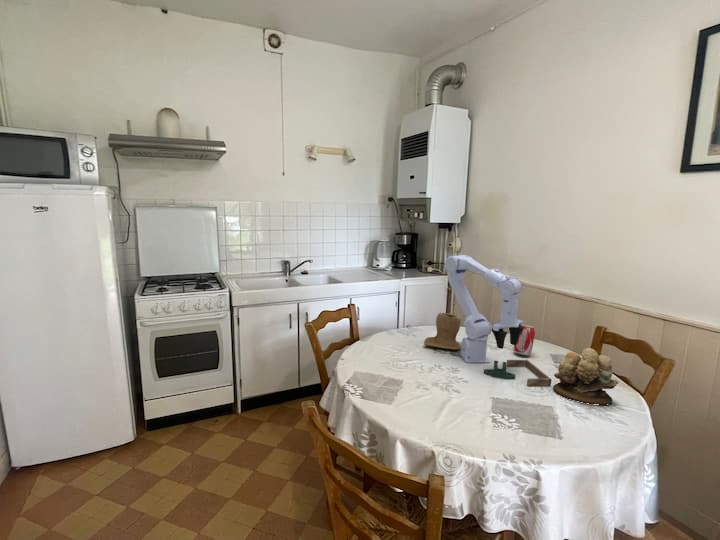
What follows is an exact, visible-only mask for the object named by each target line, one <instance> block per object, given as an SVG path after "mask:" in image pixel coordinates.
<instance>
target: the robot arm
mask: <svg viewBox="0 0 720 540" xmlns="http://www.w3.org/2000/svg"><path fill="white" fill-rule="evenodd" d="M443 267H444V268H445V271H446V275H447V281H448V282H449V285H450V287H451V289H452V291H453V294H454V296H455V298H456V300H457V302H458V304H459V306H460V308H461V311H462V312H463V315H464V316H465V317H464V318H465V319H464V322H463V325H464V329H465V334H466V336H467V337H463V338H462V340H461V346H460V350H461V351H460V356H461V358H462V359H463V360H464V361H465V362H466V363H490V360H489V359H488V358H487V348H488V338H489V336H490V335H491V334H493V336H494V339H495V343H496V347H497V348H498V349H500V350H503V349H504V347H505V346H504V345H505V340H506V337H507V335H508V332H507V331H504V330H505V329H508V330H509V342H510V345H512V346H514V345H516V344H517V342H518V339H519V336H520V334H521V333H522V331H523V330H524V327H521V326H523V325H524V320H522V319H518V312H519V311H518V308H519V297H520V295H519V294H520V293H521V292H522V290H523V284H522V282H521V281H520V280H519V279H518V278H516V277H514V278H511V276H510V275H506V274H504V273H502V272H500V269H498V268H491V269H489V268H487V267H486V266H484V265H483V264H481V263H480V262H478V261H477V260H475V259H474V258H472V257H471V256H469V255H467V254H461V255H449V256H448V257H446V259H445V262H444V265H443ZM468 270H469V271H472V272H473V273H476V274H478V275H480V276H481V277H483V278H484V280H485V282H486V283H488V284H489V285H491V286H493V287H494V288H496V289H498V290H499V293H500V294H501V297H500V298H501V301H500V302H501V305H500V321H499V322H497V323H495V324H493V325H492V324H491V323H490V322H489V321H488V320H487V318H486V317H485V315H483V314H481V313H479V311H478V309H477V307H476V304H475V303H474V300H473V298H472V296H471V294H470V292H469V289H468V288H467V286H466V283H465V282H464V279H463V277H464V276H465V274H466V273H467V272H468Z"/></svg>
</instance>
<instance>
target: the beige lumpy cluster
mask: <svg viewBox="0 0 720 540" xmlns="http://www.w3.org/2000/svg"><path fill="white" fill-rule="evenodd" d="M612 368H613V362H612V359H611V357H609V356H607V355H602V354H600V355H599V354H598V352H597V351H596V350H595V349H593V348H591V347H585V348H583V350H582V353H581V356H580V355H579V354H578V353H576V352H573V351H570V352H567V353H566V355H565V357H564V358H562V359H561V361H560V362H559V365H558V368H557V371H558V372H554V374H553V376H554V378H556V379H558V380H559V382H557V383H555V384H554V385H553V386H552V390H553V392H554V393H555V394H556V395H557V396H559V395H560V396H559V397H561V396H562V398H564V397H565V398H564V399H566V398H567V399H566V400H569V399H571V400H570V401H572V400H575V401H579V402H583V403H589V404H599V405H607V404H610V403H612V404H613V398H612V397H611V396H610V394H608V393H607V391H606V390H613V389H614V388H615V387H617V385H618V384H619V383H620V382H619V381H618V379H612V377H613V373H614V372H613V371H612V370H613V369H612ZM575 401H574V402H575ZM579 402H578V403H579ZM583 403H582V404H583ZM610 405H611V404H610ZM607 406H608V405H607Z"/></svg>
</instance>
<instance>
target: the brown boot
mask: <svg viewBox="0 0 720 540" xmlns="http://www.w3.org/2000/svg"><path fill="white" fill-rule="evenodd" d="M461 322H462V320H461V317H460V316H459V315H456V314H453V313H447V312H446V313H445V312H439V313H438V314H437V316H436V319H435V326H436V335H435V336H430V337H429V336H427V337H426V338H425V339H424V342H423V345H425V346H427V347H428V346H429V347H433V348H437V349H445V350H454V351H455V350H459V349H461V344H460V343H459V342H458V341H457V336H458V333H459V331H460V328H461Z"/></svg>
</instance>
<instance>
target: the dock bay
mask: <svg viewBox="0 0 720 540" xmlns="http://www.w3.org/2000/svg"><path fill="white" fill-rule="evenodd" d="M508 367H509V368H510V367H513V368H515V367H517V368H520V367H521V368H522V367H523V368H527V370H529V371H530V372H531V373H532V374H534V376H536V377H537V378H536V377H535V378H533V377H532V378H531V377H529V378H527V379H526V386H527V387H551V386H552V378H550V377H549V376H548V375H547V374H545V372H543V371H542V370H541V369H540V368H539V367H537V366H536V365H534V364H533V363H532V362H531V361H530V360H528V359H506V368H508Z"/></svg>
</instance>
